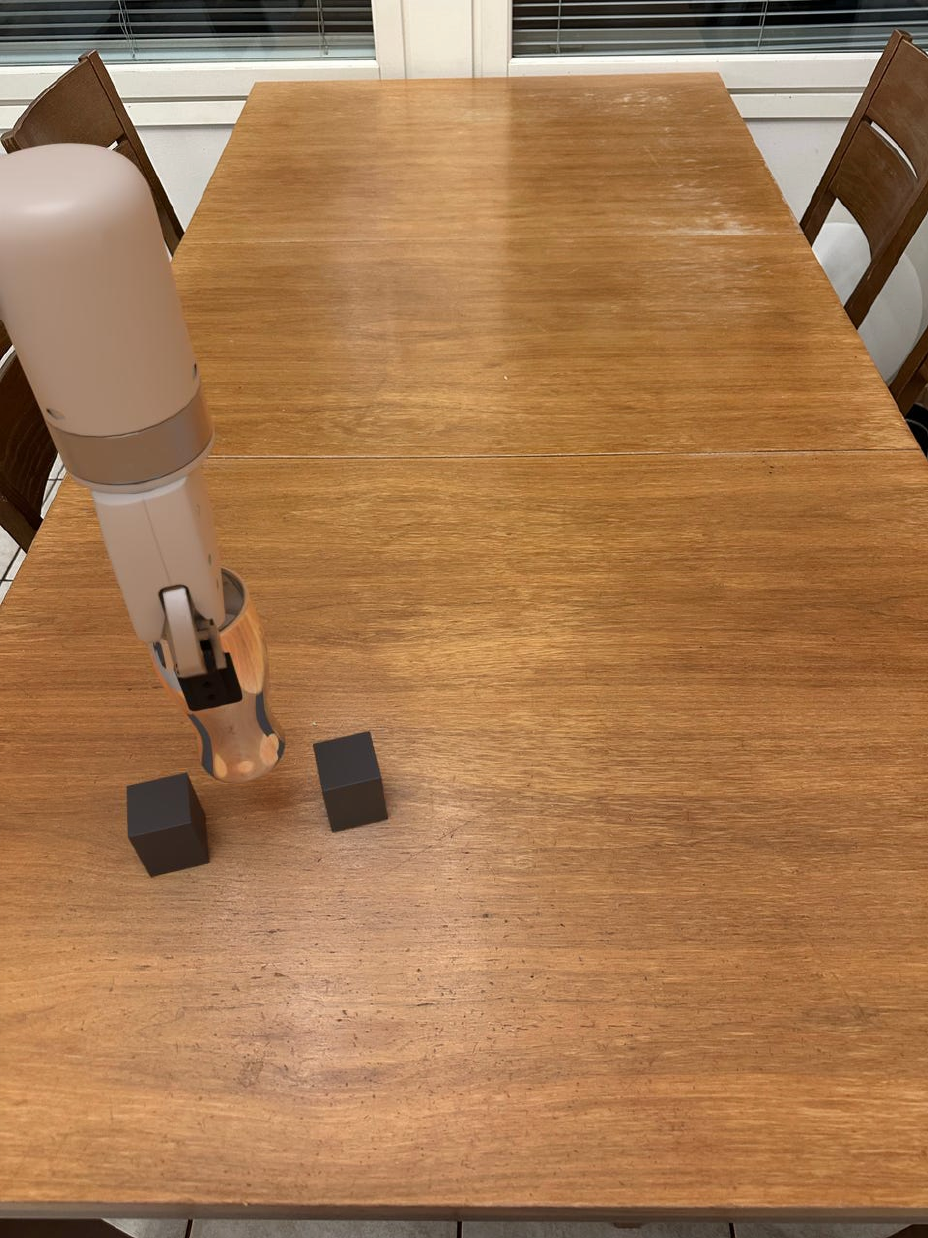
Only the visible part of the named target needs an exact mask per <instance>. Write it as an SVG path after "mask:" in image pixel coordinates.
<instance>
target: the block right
mask: <svg viewBox="0 0 928 1238" xmlns="http://www.w3.org/2000/svg"><path fill="white" fill-rule="evenodd" d="M312 749H313V753H314V754H313V755H314V758H315V763H316V769H317V774H318V780H319V785H320V789H321V794H322V799H323V803H324V807H325V810H326V814H327V818H328V823H329V826H330V831H331V833H336V832H341V831H345V830H349V829H354V828H357V827H362V826H367V825H369V824H373V823H378V822H381V821H387V820H388V819H389V816H388V810H387V804H386V798H385V791H384V785H383V779H382V773H381V769H380V765H379V761H378V757H377V753H376V750H375V745H374V741H373V736H372V733H371V730H366V731H362V732H358V733H354V734H353V733H352V734H349V735H344V736H340V737H336V738H331V739H328V740H323V741H322V740H321V741H317V742H314V743H312Z"/></svg>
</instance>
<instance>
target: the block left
mask: <svg viewBox="0 0 928 1238" xmlns="http://www.w3.org/2000/svg"><path fill="white" fill-rule="evenodd" d="M125 790H126V820H127V821H126V822H127V823H126V824H127V825H126V826H127V839H128V840H129V842H130V844H131V846H132V848H133V849H134V851H135V852H136V854H137V856H138V858H139V860H140V862H141V863H142V865H143V867H144V869H145V870H146V872H147V874H148V876H149V877H150V878H152V877H156V876H161V875H164V874H165V875H166V874H169V873H173V872H176V871H181V870H185V869H188V868H193V867H197V866H198V867H199V866H201V865H205V864H209V863H210V853H209V844H208V831H207V821H206V813H205V811H204V808H203V806H202V804H201V801H200V798H199V797H198V794H197V792H196V790H195V787H194V785H193V782H192V780H191V778H190V775H189V773H188V772H182V773H178V774H173V775H170V776H164V777H160V778H157V779H151V780H147V781H146V780H145V781H142V782H138V783H134V784H129V785H126V789H125Z"/></svg>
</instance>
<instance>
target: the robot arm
mask: <svg viewBox="0 0 928 1238" xmlns="http://www.w3.org/2000/svg"><path fill="white" fill-rule="evenodd" d="M155 204H156V203H155V201H154V197H153V195H152V191H151V188H150V186H149V184H148V181H147V180H146V178H145V177H144V175H143V174H142V172H141V171H140V170H139V168H138V167H137V166H136V164H135V163H133V162H132V161H131V160H130V159H129V158H128V157H126V156H125V155H123V154H121V153H119V152H117V151H116V150H113V149H111V148H108V147H104V146H100V145H95V144H89V143H88V144H87V143H68V142H67V143H51V144H44V145H37V146H33V147H28V148H23V149H20V150H16V151H13V152H11V153H0V320H1V322H2V323H3V325H4V327H5V330H6V332H7V335H8V337H9V339H10V341H11V344H12V346H13V349H14V351H15V354H16V356H17V358H18V361H19V363H20V365H21V368H22V370H23V371H24V372H23V373H24V374H25V377H26V379H27V382H28V384H29V386H30V388H31V391H32V393H33V395H34V398H35V400H36V402H37V404H38V407H39V410H40V412H41V414H42V417H43V419H44V422H45V425H46V427H47V429H48V431H49V434H50V437H51V438H52V441H53V443H54V446H55V448H56V451H57V453H58V456H59V457H60V460H61V463H62V465H63V468H64V469H65V472H66V473H67V475H68V477H69V478H70V479H71V480H72V481H73V482H75V483H76V484H78V485H79V486H81V487H83V488H86V489H88V490H89V491H90V494H91V497H92V502H93V506H94V507H93V508H94V510H95V515H96V517H97V518H96V519H97V522H98V526H99V530H100V533H101V536H102V540H103V543H104V546H105V549H106V552H107V555H108V558H109V562H110V565H111V567H112V570H113V573H114V576H115V578H116V581H117V584H118V587H119V590H120V593H121V595H122V599H123V602H124V604H125V607H126V611H127V613H128V617H129V618H130V621H131V625H132V627H133V630H134V633H135V636H136V637H137V639H138V640H140V642H142V643H143V644H145V645H146V644H149V643H152V642H159V641H160V640H161V636H162V632H163V628H164V633H165V635H166V639H167V642H168V646H169V650H170V653H171V657H172V661H173V665H174V672H175V674H176V677H177V679H178V682H179V685H180V687H181V690H182V692H183V695H184V697H185V700H186V702H187V705H188V708H189V709H190V710H191V711H200V710H205V709H211V708H216V707H220V706H223V705H228V704H232V703H237V702H240V701H241V700H242V699H243V696H242V690H241V687H240V683H239V680H238V677H237V674H236V671H235V668H234V664H233V661H232V658H231V655H230V652H227V653H226V652H224V649H223V645H222V641H221V637H220V633H219V629H218V628H219V627H220V626H221V625H222V624H223V622H224V621H225V606H224V596H223V585H222V574H221V566H222V564H221V557H220V548H219V542H218V536H217V529H216V523H215V518H214V512H213V509H212V508H213V507H212V503H211V500H210V495H209V492H208V487H207V484H206V479H205V476H204V472H203V469H202V465H203V463H204V462H205V461H206V460H207V458H209V456H210V455H211V454H212V450H213V449H214V446H215V443H216V430H215V427H214V423H213V419H212V415H211V412H210V407H209V404H208V400H207V397H206V393H205V388H204V385H203V381H202V377H201V374H200V370H199V366H198V364H197V359H196V355H195V351H194V347H193V344H192V341H191V340H192V339H191V335H190V332H189V330H188V329H189V328H188V325H187V321H186V317H185V314H184V310H183V306H182V302H181V298H180V295H179V291H178V287H177V283H176V279H175V276H174V271H173V268H172V263H171V261H170V257H169V252H168V249H167V245H166V241H165V238H164V237H165V236H164V234H163V230H162V226H161V222H160V218H159V215H158V211H157V208H156V205H155ZM192 607H195V609H196V610H197V611H198V612H199V613H200V614H201V615H197V616H194V614H193V609H192ZM203 630H207V633H208V637H209V640H210V644H211V648H212V649H209V650H204V651H202V650H201V646H200V642H199V638H198V633H197V632H198V631H203Z"/></svg>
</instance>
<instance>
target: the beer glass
mask: <svg viewBox="0 0 928 1238" xmlns="http://www.w3.org/2000/svg"><path fill="white" fill-rule="evenodd" d="M221 574H222V585H223V596H224V606H225V621H224V622H223V624H222V625H221V626H220V627H219V628H218V629H219V633H220V637H221V641H222V645H223V649H224V652H226V653H227V652H230V655H231V658H232V661H233V664H234V668H235V671H236V674H237V677H238V680H239V683H240V687H241V690H242V696H243V699H242V700H241V701H240V702H237V703H232V704H228V705H223V706H220V707H216V708H211V709H205V710H200V711H191V710H190V709H189V708H188V705H187V702H186V700H185V697H184V695H183V692H182V690H181V687H180V685H179V682H178V679H177V677H176V674H175V672H174V665H173V661H172V657H171V653H170V650H169V646H168V642H167V639H166V635H165V633H164V628H163V632H162V636H161V640H160V641H159V642H152V643H149V644H146V643H145V645H146V648H147V652H148V655H149V658H150V660H151V664H152V666H153V668H154V671H155V673H156V675H157V677H158V679H159V682H160V683H161V686H162V687H163V689H164V690H165V692H166V693H167V695H168V697H169V698H170V700H171V701H172V703H174V705H175V707H177V709H178V710H179V712H180V713H181V714H182V715H183V717H184V718H185V719H186V721H187V722H188V723H189V725H190V726H191V727H192V729H193V731H194V734H195V736H196V744H197V745H196V746H197V754H198V758H199V762H200V765H201V767H202V768H203V770H204V771H205V772H206V773H207V774H208V775H209V776H210V777H212V778H214V779H215V780H216V781H219V782H222V783H227V784H244V783H249V782H252V781H255V780H258V779H259V778H262V777H263V776H265V775H267V774H268V773H269V772H270V771H272V770H273V769H274V768H275V767H276V766H277V764H278V763H279V762H280V760H281V759H282V757H283V754H284V752H285V749H286V735H285V731H284V729H283V727H282V724H281V723H280V721H279V720H278V718H277V717H276V716H275V713H274V712H273V710H272V706H271V700H270V699H271V698H270V662H269V661H270V660H269V651H268V645H267V641H266V636H265V633H264V629H263V625H262V623H261V619H260V617H259V614H258V611H257V609H256V607H255V604H254V601H253V599H252V597H251V594H250V591H249V590H250V589H249V588H248V585H247V583H246V581H245V579H243V577H242V576H241V575H240V574H238V572H236V571H234V570H232V569H230V568H228V567H225V566H222V565H221ZM192 609H193V614H194V616H197V615H201V614H200V613H199V612H198V611H197V610H196V609H195V607H192ZM197 633H198V638H199V642H200V646H201V650H202V651H204V650H209V649H212V648H211V644H210V640H209V637H208V633H207V630H203V631H198V632H197Z"/></svg>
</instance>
